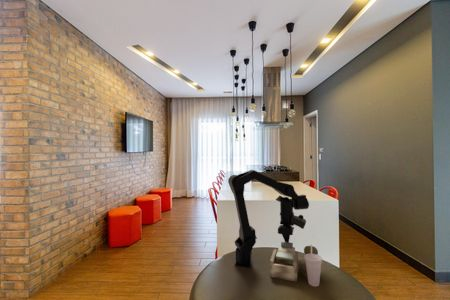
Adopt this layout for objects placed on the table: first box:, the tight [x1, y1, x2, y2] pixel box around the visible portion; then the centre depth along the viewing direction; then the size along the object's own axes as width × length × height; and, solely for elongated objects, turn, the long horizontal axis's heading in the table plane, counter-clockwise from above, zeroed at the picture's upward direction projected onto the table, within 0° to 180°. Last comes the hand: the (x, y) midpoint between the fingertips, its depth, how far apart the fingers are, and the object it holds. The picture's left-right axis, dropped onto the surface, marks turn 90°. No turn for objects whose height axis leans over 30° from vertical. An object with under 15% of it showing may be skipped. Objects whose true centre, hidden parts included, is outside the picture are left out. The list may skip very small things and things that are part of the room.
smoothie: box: [303, 244, 324, 287], centre depth 80 cm, size 6×6×14 cm
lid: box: [276, 241, 296, 260], centre depth 94 cm, size 7×12×3 cm, turn 159°
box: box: [269, 248, 299, 283], centre depth 89 cm, size 10×12×6 cm
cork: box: [303, 245, 319, 279], centre depth 86 cm, size 6×6×11 cm
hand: (287, 243), depth 101 cm, fingers closed
